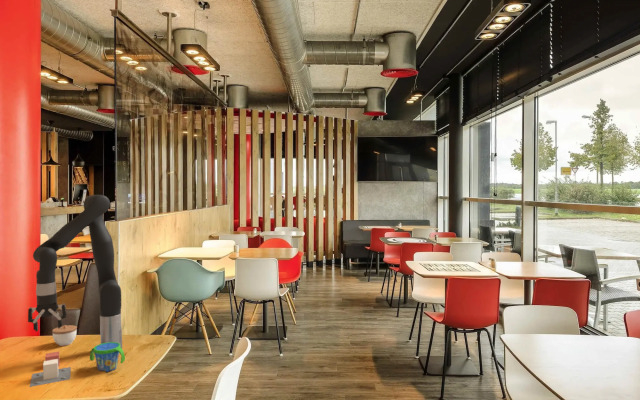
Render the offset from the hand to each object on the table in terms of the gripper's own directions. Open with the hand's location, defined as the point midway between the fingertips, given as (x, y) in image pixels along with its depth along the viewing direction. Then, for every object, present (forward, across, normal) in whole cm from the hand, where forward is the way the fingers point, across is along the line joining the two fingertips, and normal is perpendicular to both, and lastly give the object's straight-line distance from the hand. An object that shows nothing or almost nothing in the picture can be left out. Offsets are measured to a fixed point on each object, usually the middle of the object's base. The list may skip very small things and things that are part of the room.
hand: (48, 329), depth 196 cm
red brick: (+17, -1, +1) cm, 17 cm away
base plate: (+17, -2, +14) cm, 22 cm away
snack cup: (+17, -23, +13) cm, 32 cm away
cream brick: (+16, -2, +14) cm, 21 cm away
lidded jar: (+17, -3, -31) cm, 36 cm away
